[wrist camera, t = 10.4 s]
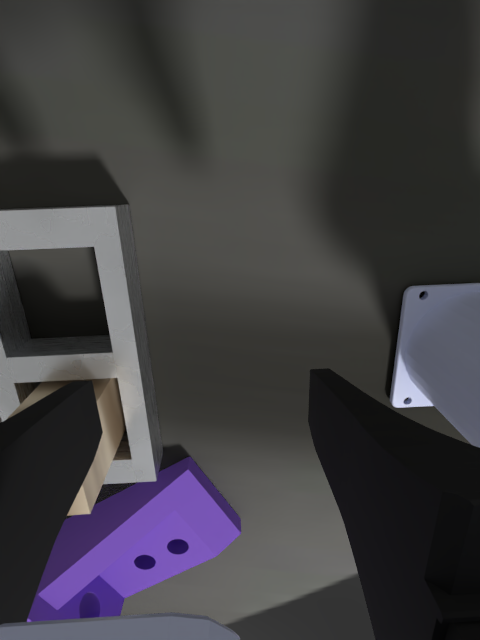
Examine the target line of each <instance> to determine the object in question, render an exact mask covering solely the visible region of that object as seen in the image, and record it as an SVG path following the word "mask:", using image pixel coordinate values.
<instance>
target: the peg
mask: <svg viewBox="0 0 480 640" xmlns="http://www.w3.org/2000/svg"><path fill="white" fill-rule="evenodd" d="M91 380H92V382H93V387H94V392H95V397H96V402H97V406H98V411H99V416H100V421H101V426H102V431H103V433H102V437H101V440H100V443H99V447H98V450H97V452H96V455H95V458H94V461H93V463H92V465H91V467H90V469H89V472H88V474H87V476H86V478H85V480H84V482H83V484H82V486H81V488H80V490H79V492H78V494H77V496H76V498H75V500H74V502H73V504H72V506H71V508H70V510H69V512H68V514H67V516H68V515H82V514H91V511H92V509H93V506H94V504H95V502H96V499H97V497H98V494H99V492H100V489H101V487H102V485H103V482H104V480H105V477H106V475H107V473H108V470H109V468H110V465H111V463H112V461H113V458H114V456H115V453H116V451H117V449H118V446H119V444H120V441H121V439H122V437H123V434H124V432H125V429H126V423H125V418H124V412H123V406H122V401H121V395H120V389H119V384H118V378H104V379H84V380H64V381H44V382H41V383H40V384H39V386H38V387H37V388H36V389H35V390H34V391H33V392H32V393H31V394H30V395H29V396H28V397H27V398H26V399H25V400H24V401H23V402H22V403H21V404H20V405H19V407H18V408H17V409H16V410H15V411H14V412H13V413H12V414H11V415H10V416H9V417H8V418H10V417H12V416H14V415H15V414H17V413H19V412H21V411H22V410H24V409H26V408H27V407H29V406H31V405H32V404H34V403H36V402H37V401H39V400H41V399H42V398H44V397H46V396H47V395H49V394H51V393H52V392H54V391H56V390H58V389H59V388H61V387H63V386H65V385H67V384H69V383H71V382H73V381H91ZM8 418H7V419H8ZM7 419H6V420H7Z"/></svg>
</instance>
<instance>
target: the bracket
mask: <svg viewBox="0 0 480 640" xmlns="http://www.w3.org/2000/svg"><path fill="white" fill-rule="evenodd" d="M240 534H241V520H240V517H239V516H238V515H237V514H236V513H235V511H234V510H233V509H232V508H231V506H230V505H229V504H228V503H227V501H226V500H225V499H224V498H223V496H222V495H221V494H220V493H219V492H218V490H217V489H216V488H215V487H214V485H213V484H212V483H211V482H210V480H209V479H208V478H207V477H206V475H205V474H204V473H203V472H202V471H201V469H200V468H199V467H198V466H197V464H196V463H195V462H194V461H193V459H192V458H191V457H190V456H189V457H187V458H185V459H183V460H181V461H179V462H177V463H175V464H173V465H172V466H170V467H168V468H166V469H164V470H162V471H160V472H159V473H158V477H157V481H152V482H138V483H136V484H134V485H132V486H130V487H128V488H126V489H124V490H123V491H121V492H119V493H117V494H115V495H113V496H111V497H109V498H107V499H105V500H103V501H101V502H99V503H97V504H95V505H94V506H93V509H92V511H91V514H82V515H74V516H72V517H70V518H68V519H66V520H65V521H64V523H63V525H62V527H61V529H60V531H59V534H58V536H57V538H56V540H55V543H54V546H53V548H52V551H51V554H50V556H49V559H48V562H47V564H46V567H45V570H44V572H43V575H42V578H41V581H40V584H39V587H38V590H37V592H36V595H35V598H34V601H33V604H32V607H31V610H30V613H29V616H28V619H27V622H35V621H50V620H65V619H80V618H95V617H111V616H120V614H121V610H122V606H123V602H124V598H126V597H128V596H131V595H133V594H135V593H137V592H139V591H141V590H144V589H146V588H148V587H150V586H152V585H155V584H157V583H159V582H161V581H163V580H165V579H168V578H170V577H172V576H174V575H176V574H179V573H181V572H183V571H185V570H187V569H190V568H192V567H194V566H196V565H198V564H200V563H203V562H205V561H207V560H209V559H211V558H214V557H216V556H217V555H218V554H219V553H220V552H221V551H223V550H224V549H225V548H226V547H227V546H228V545H229V544H230V543H231V542H232V541H233V540H234V539H236V538H237V537H238V536H239V535H240Z"/></svg>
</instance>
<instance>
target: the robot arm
mask: <svg viewBox="0 0 480 640" xmlns="http://www.w3.org/2000/svg"><path fill="white" fill-rule="evenodd" d="M423 291H424V292H425V294H424V296H423V297H421V298H419V295H420V293H421V292H423ZM408 397H409V398H408ZM405 398H408V400H406V401H404V399H405ZM390 402H391V403H392V405H393V406H394V407H397V408H402V407H421V406H435V407H436V408H437V409H438V410H439V411H440V412H441V413H442V414H443V415H444V416H445V417H446V419H447V420H448V421H449V422H450V423H451V424H452V425H453V426H454V427H455V428H456V429H457V430H458V431H459V432H460V433H461V434H462V435H463V436H464V437H465V438H466V439H467V440H468V441H469V442H470V443H471V444H472V445H470V444H467V443H464V442H462V441H459V440H457V439H454V438H452V437H449V436H446V435H444V434H441V433H439V432H437V431H434V430H432V429H430V428H427V427H425V426H423V425H421V424H419V423H417V422H415V421H413V420H411V419H409V418H407V417H405V416H403V415H401V414H399V413H397V412H395V411H394V410H392V409H390V408H388V407H387V406H385V405H383V404H382V403H380V402H378V401H377V400H375V399H373V398H372V397H370V396H369V395H367V394H366V393H364V392H363V391H361V390H360V389H358V388H357V387H355V386H354V385H352V384H351V383H349V382H348V381H347V380H345V379H344V378H342V377H341V376H339V375H338V374H336V373H335V372H333V371H332V370H330V369H311V370H310V389H309V415H308V422H309V426H310V431H311V435H312V439H313V442H314V446H315V449H316V452H317V455H318V457H319V460H320V462H321V465H322V467H323V470H324V472H325V475H326V477H327V480H328V482H329V485H330V487H331V490H332V492H333V495H334V497H335V500H336V502H337V505H338V507H339V510H340V513H341V516H342V518H343V521H344V524H345V528H346V531H347V535H348V538H349V542H350V545H351V549H352V552H353V555H354V559H355V563H356V566H357V570H358V574H359V578H360V581H361V585H362V589H363V592H364V596H365V600H366V604H367V608H368V612H369V616H370V620H371V623H372V627H373V631H374V635H375V639H376V640H480V283H465V284H442V285H420V286H410V287H408V288H407V289H406V290H405V291H404V294H403V302H402V310H401V317H400V325H399V332H398V340H397V348H396V355H395V363H394V371H393V378H392V386H391V393H390ZM102 433H103V431H102V426H101V421H100V416H99V411H98V406H97V402H96V397H95V392H94V387H93V382H92V380H91V381H73V382H71V383H69V384H67V385H65V386H63V387H61V388H59V389H58V390H56V391H54V392H52V393H51V394H49V395H47V396H46V397H44V398H42V399H41V400H39V401H37V402H36V403H34V404H32V405H31V406H29V407H27V408H26V409H24V410H22V411H21V412H19V413H17V414H15V415H14V416H12V417H10V418H8V419H7V420H5V421H3V422H1V423H0V640H241V639H240V637H239V636H238V635H237V634H236V633H235V632H234V631H233V630H232V629H230V628H228V627H226V626H224V625H222V624H221V623H219V622H217V621H215V620H213V619H211V618H209V617H208V616H202V615H192V614H182V613H173V612H171V613H156V614H141V615H126V616H111V617H95V618H80V619H65V620H50V621H35V622H27V619H28V616H29V613H30V610H31V607H32V604H33V601H34V598H35V595H36V592H37V590H38V587H39V584H40V581H41V578H42V575H43V572H44V570H45V567H46V564H47V562H48V559H49V556H50V554H51V551H52V548H53V546H54V543H55V540H56V538H57V536H58V534H59V531H60V529H61V527H62V525H63V523H64V521H65V519H66V516H67V514H68V512H69V510H70V508H71V506H72V504H73V502H74V500H75V498H76V496H77V494H78V492H79V490H80V488H81V486H82V484H83V482H84V480H85V478H86V476H87V474H88V472H89V469H90V467H91V465H92V463H93V461H94V458H95V455H96V452H97V450H98V447H99V443H100V440H101V437H102Z"/></svg>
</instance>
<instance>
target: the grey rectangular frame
mask: <svg viewBox="0 0 480 640" xmlns="http://www.w3.org/2000/svg"><path fill="white" fill-rule="evenodd" d="M73 247H94V249H95V254H96V260H97V266H98V271H99V277H100V282H101V288H102V294H103V299H104V305H105V311H106V316H107V322H108V327H109V333H110V335H99V336H78V337H57V338H35V339H31V336H30V332H29V329H28V325H27V321H26V317H25V313H24V309H23V306H22V302H21V298H20V294H19V290H18V287H17V283H16V279H15V275H14V271H13V268H12V264H11V260H10V256H9V252H8V250H25V249H49V248H73ZM104 378H118V384H119V389H120V395H121V401H122V406H123V412H124V418H125V423H126V429H127V433H124V434H123V437H122V439H121V441H120V444H119V446H118V449H117V451H116V453H115V456H114V458H113V461H112V463H111V465H110V468H109V470H108V473H107V475H106V477H105V480H104V482H103V484H117V483H134V482H152V481H157V477H158V473H159V469H160V465H161V460H162V456H163V447H162V439H161V432H160V425H159V417H158V410H157V403H156V396H155V388H154V381H153V374H152V367H151V359H150V352H149V345H148V337H147V330H146V323H145V316H144V308H143V301H142V294H141V287H140V279H139V272H138V265H137V258H136V250H135V243H134V236H133V228H132V221H131V214H130V207H129V204H123V205H97V206H71V207H45V208H19V209H0V416H1V420H2V422H3V421H5V420H6V419H7V418H8V417H9V416H10V415H11V414H12V413H13V412H14V411H15V410H16V409H17V408H18V407H19V405H20V404H21V403H22V402H23V401H24V400H25V399H26V398H27V397H28V396H29V395H30V394H31V393H32V392H33V391H34V390H35V389H36V388H37V387H38V386H39V384H40V383H41V382H44V381H64V380H84V379H104Z"/></svg>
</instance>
